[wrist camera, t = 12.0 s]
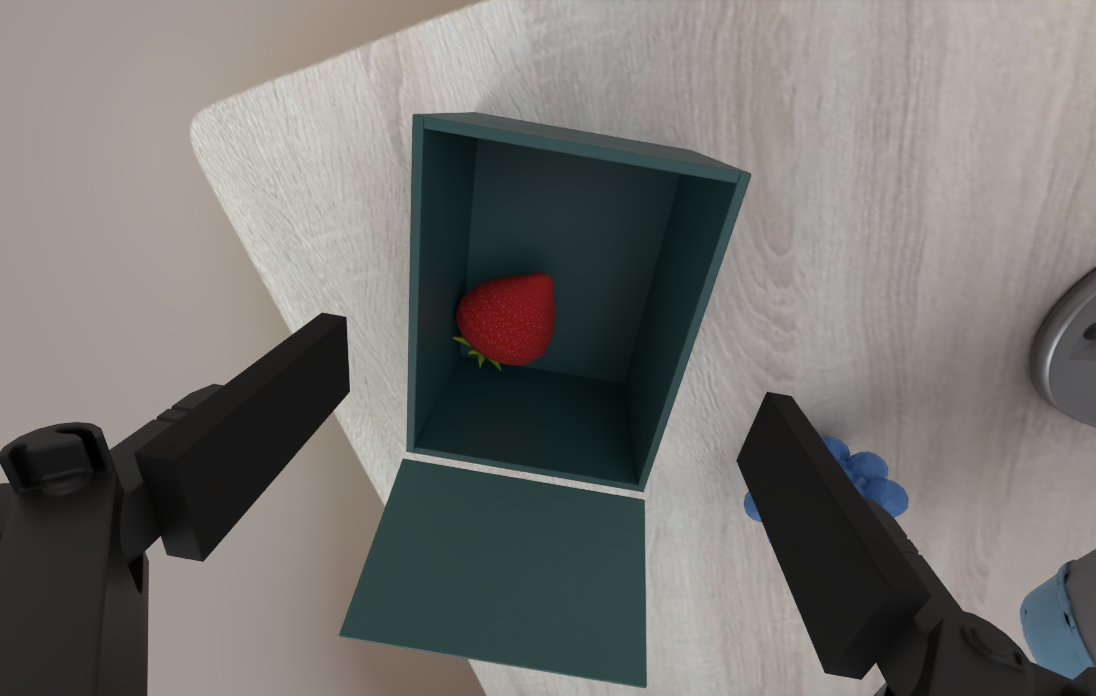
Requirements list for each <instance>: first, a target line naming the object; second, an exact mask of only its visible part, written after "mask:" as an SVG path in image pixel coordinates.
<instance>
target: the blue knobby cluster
mask: <svg viewBox="0 0 1096 696" xmlns="http://www.w3.org/2000/svg"><path fill="white" fill-rule="evenodd" d="M822 440H823V442H824V443H825V444H826V446H827V447H828V449H829V450H830V452H831V453H832V454H833V456H834V457H835V459H836V460H837V461H838V463H839V464H840V466H841V467H842V469H843V470H844V471H845V473H846V474H847V476H848V477H849V478H850V480H851V481H852V483H853V484H854V486H855V487H856V488H857V490H858V491H859V493H860V494H861V495H862V497H863V498H864V499H870V500H874V501H875V502H876V503H877V504H878V505H880V506H881V507H882V508H883V509H884V510H885V511H886V512H888V513H889V514H890V515H891V516H892V517H896V516H899V515H901V514H902V513H903V512H904V511H905V510H906V509H907V508H908V499H909V498H908V496H907V494H906V492H905V490H904V489H903V488H902V487H901V486H899V485H898V484H897V483H895V482H894V481H891V480H888V479H886V478H887V475H888V467H887V465H886V463H885V461H884V460H883V459H881V458H880V457H879V456H878V455H876V454H873V453H871V452H859V453H857V454H854V455H852V456H851V457H850V454H851V453H850V451H849V449H848V447H847V446H846V445H845V444H844V443H843V442H842V441H840V440H838V439H835V438H824V439H822ZM744 507H745V510H746V513H747V514H748V515H749V516H750V517H751V518H752V519H753V520H756V521H759V522H762V521H761V518H760V516H759V514H758V511H757V509H756V506H755V504H754V502H753V499H752V497H751V494H750V492H749V491H748V493H747V494H746V495H745V500H744ZM766 534H767V533H766ZM767 536H768V535H767ZM768 539H769V538H768ZM769 542H770V540H769ZM770 543H771V542H770Z"/></svg>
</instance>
